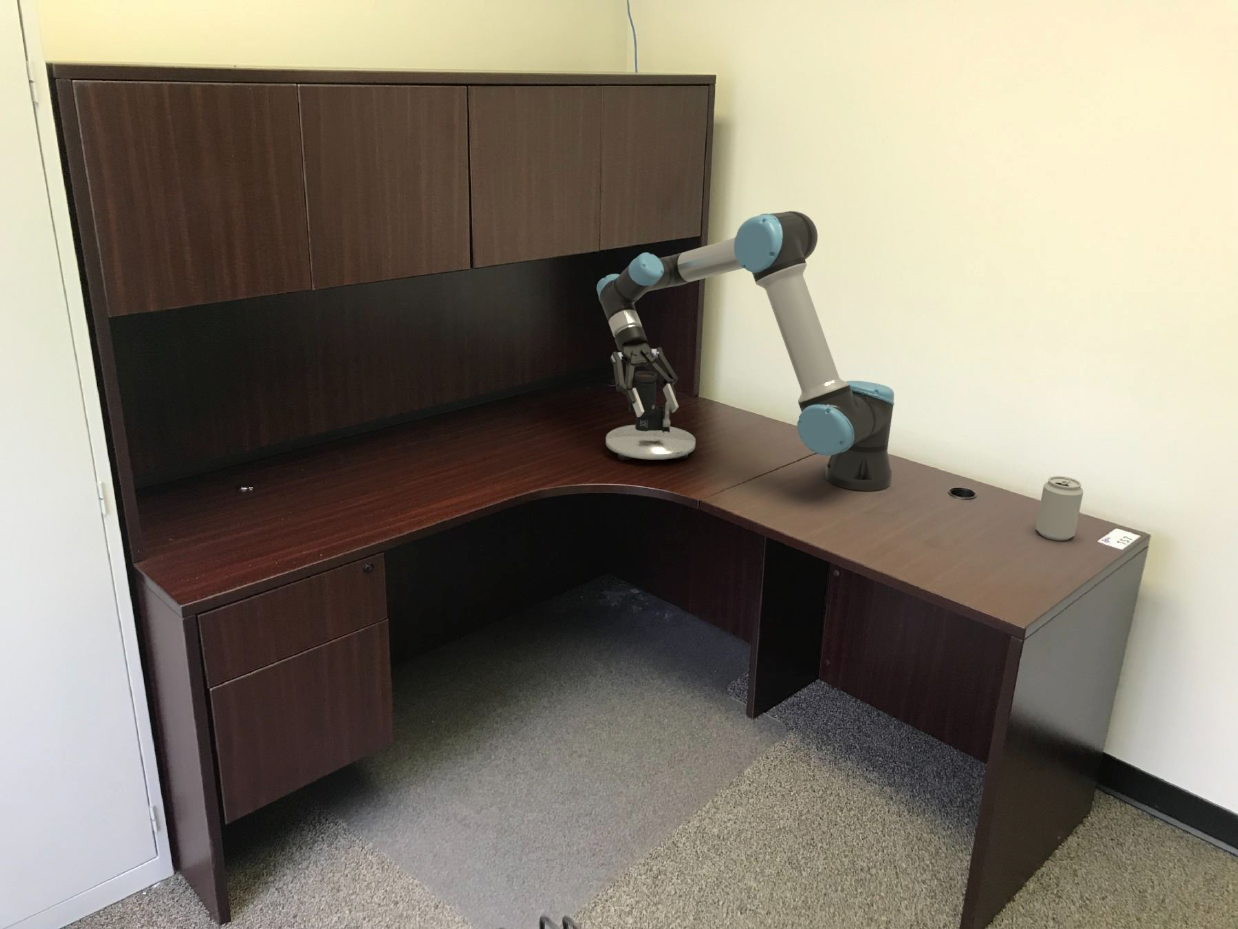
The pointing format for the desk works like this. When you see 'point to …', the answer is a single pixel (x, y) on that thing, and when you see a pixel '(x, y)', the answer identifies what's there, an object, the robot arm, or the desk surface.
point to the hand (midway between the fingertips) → (658, 411)
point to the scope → (650, 405)
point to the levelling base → (650, 443)
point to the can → (1059, 508)
